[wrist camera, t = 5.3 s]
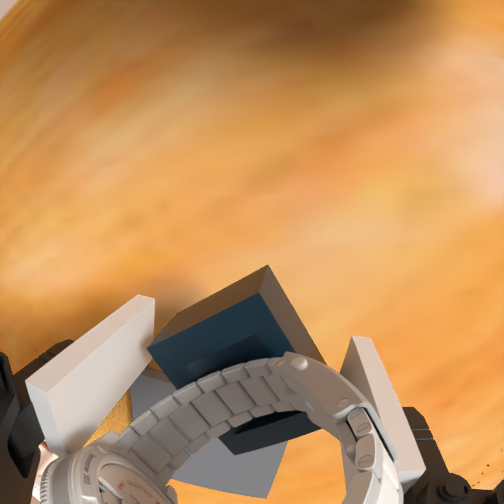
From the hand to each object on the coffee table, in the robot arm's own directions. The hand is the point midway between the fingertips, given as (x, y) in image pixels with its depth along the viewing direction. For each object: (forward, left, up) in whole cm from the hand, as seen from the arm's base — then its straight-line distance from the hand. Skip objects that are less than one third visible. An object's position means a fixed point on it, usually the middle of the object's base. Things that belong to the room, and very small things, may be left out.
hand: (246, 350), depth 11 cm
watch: (0, 0, -1) cm, 1 cm away
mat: (+13, -2, -7) cm, 15 cm away
